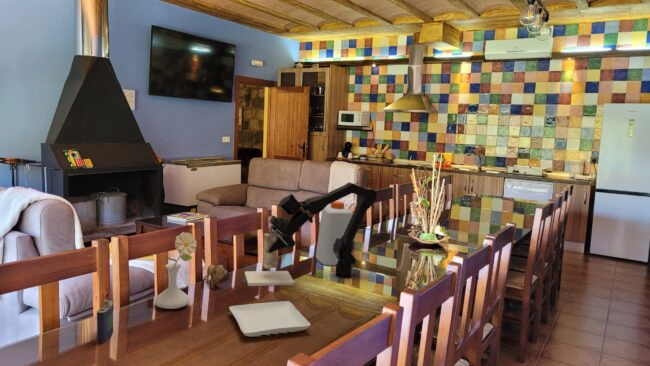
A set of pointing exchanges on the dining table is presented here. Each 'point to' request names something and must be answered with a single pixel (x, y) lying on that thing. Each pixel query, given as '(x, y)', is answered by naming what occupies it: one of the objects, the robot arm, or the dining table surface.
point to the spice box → (268, 258)
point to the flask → (105, 322)
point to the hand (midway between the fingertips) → (267, 250)
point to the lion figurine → (215, 274)
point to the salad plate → (268, 318)
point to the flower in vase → (173, 294)
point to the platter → (268, 278)
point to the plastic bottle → (331, 231)
